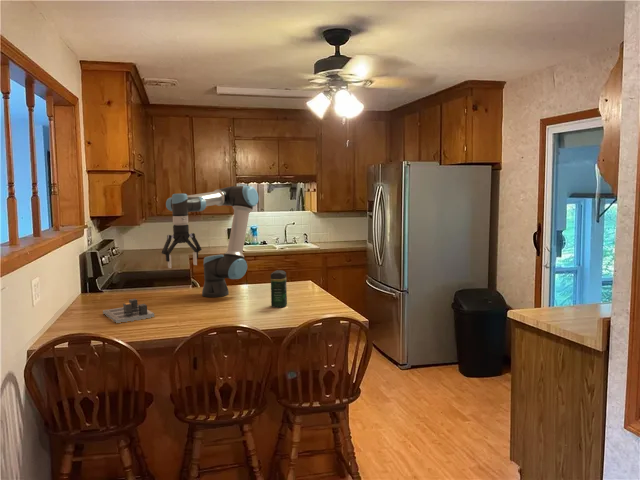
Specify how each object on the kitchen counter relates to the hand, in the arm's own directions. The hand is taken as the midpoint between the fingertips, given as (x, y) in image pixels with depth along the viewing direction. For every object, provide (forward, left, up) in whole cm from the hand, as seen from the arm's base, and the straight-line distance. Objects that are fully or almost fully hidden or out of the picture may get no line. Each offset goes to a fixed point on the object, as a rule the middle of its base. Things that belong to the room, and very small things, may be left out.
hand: (182, 266), depth 258 cm
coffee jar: (+23, +42, -23) cm, 53 cm away
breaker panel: (-11, -25, -23) cm, 36 cm away
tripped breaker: (-11, -25, -21) cm, 35 cm away
